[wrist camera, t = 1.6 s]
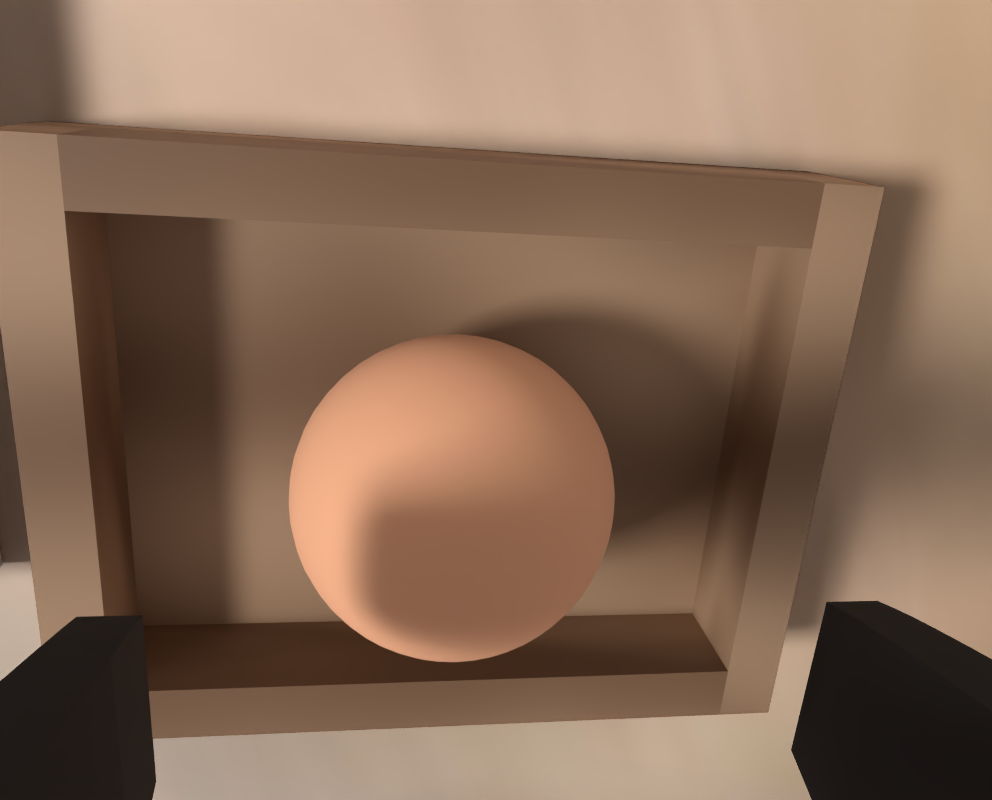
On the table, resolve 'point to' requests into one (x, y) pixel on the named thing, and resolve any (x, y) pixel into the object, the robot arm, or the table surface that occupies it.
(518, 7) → the table surface
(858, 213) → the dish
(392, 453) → the brown egg
